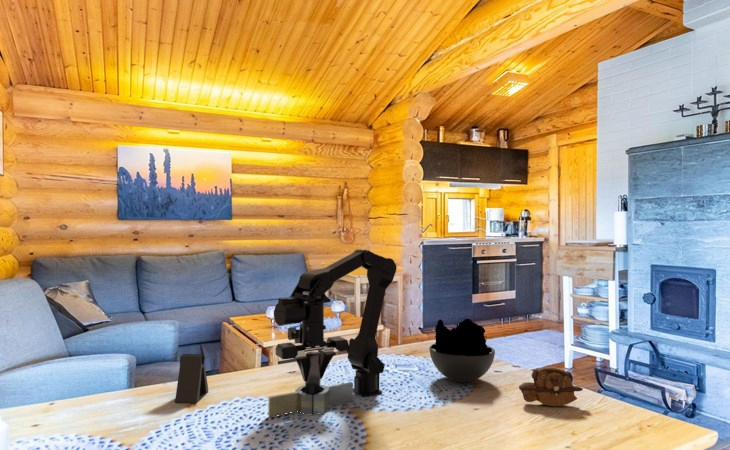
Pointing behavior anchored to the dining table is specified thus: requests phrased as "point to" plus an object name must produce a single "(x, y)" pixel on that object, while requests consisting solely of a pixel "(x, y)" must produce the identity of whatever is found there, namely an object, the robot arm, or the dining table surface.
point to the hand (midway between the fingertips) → (312, 380)
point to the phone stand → (191, 379)
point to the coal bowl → (461, 351)
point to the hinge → (310, 400)
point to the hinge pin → (313, 373)
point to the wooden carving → (550, 387)
